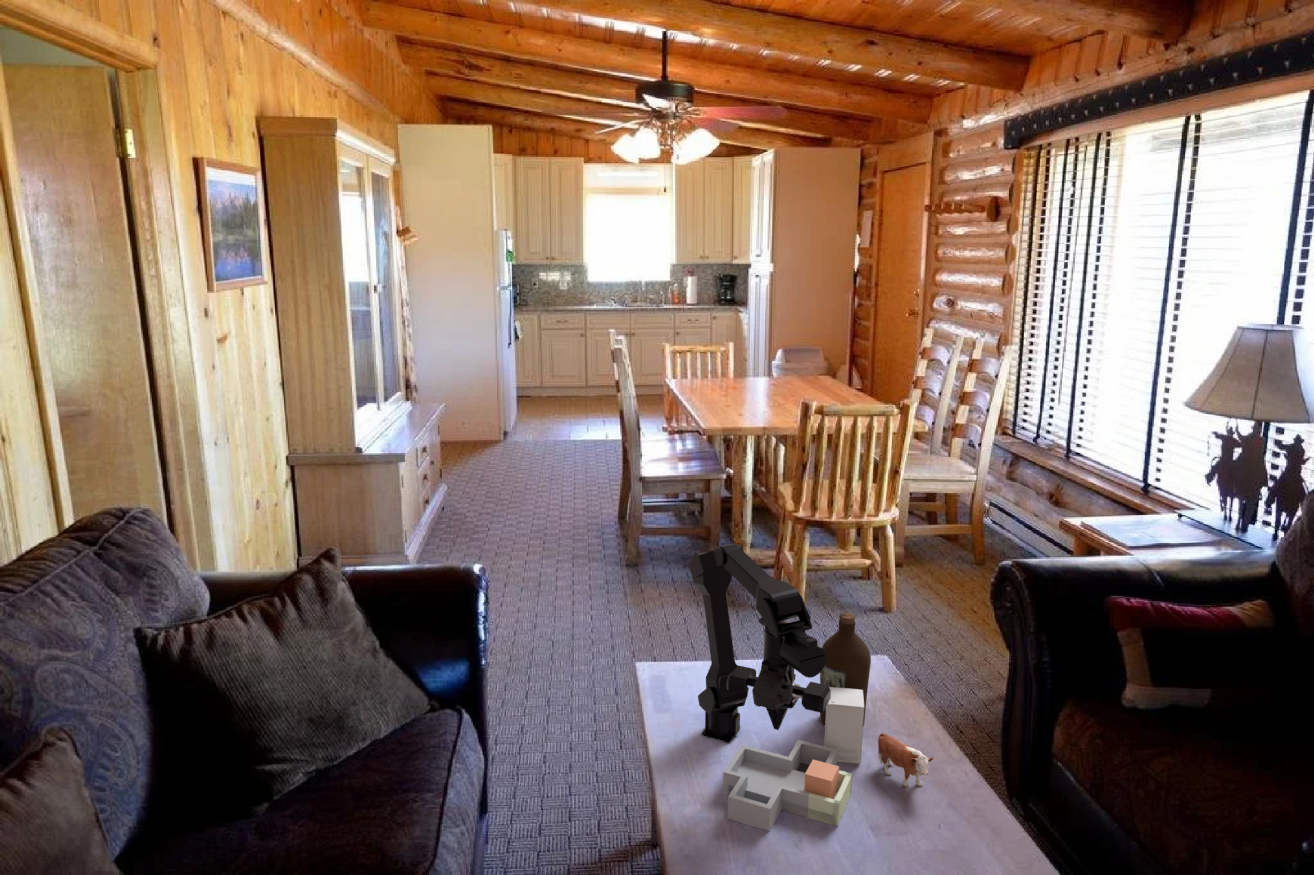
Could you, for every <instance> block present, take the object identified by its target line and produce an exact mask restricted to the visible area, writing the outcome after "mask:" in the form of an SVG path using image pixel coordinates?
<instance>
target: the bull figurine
mask: <svg viewBox="0 0 1314 875" xmlns="http://www.w3.org/2000/svg"><path fill="white" fill-rule="evenodd" d="M877 745H878V746H877V747H878V749H877V750H878V754H877V755H878V759H879V760H878V761H879V762H880V764H883V767H884V768H883V772H885V775H886V776H887V777H889V776H891V775H892V773H891V770H890V769H889V767H893V765H894V766H896V767H899V768H901V769H902V770H903V771H904V778H903V780H902V784H903V787H905V788H909V786H910V785H909V782H908V780H909V778H910V775H911V776H913V777H915V783H916V786H917V787H919V788H921V787H923V783H922V781H921V779H920V776H928V775H929V772H928V765H929V762H932V761H933V760H934V757H933V756H931V757H927V756H926V755H924V754H923V753H922V751H920V750H917V749H916V748H913V747H910V746H908V745H906V744H905V743H903V742H902V741H900V740H899V739H897V738H895V737H893V736H891V735H889V734H886V733H884V732H882V733H880V734H879V736H878V739H877Z"/></svg>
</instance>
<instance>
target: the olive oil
mask: <svg viewBox="0 0 1314 875" xmlns="http://www.w3.org/2000/svg"><path fill="white" fill-rule="evenodd" d="M855 619H856V616H855V613H854V614H853V613H852V612H842V613H840V614H839V619H838V630H837V631H836V632H835V633H834V634H832V635H831V636H830V637H828V638H827V639H826V640H825V642H823V644H822V647H821V648H822V649H823V650H824V652H825V655H826V664H825V666H824V668H823V670H822V671H821V672H820V673H819V684H824V685H828V687H837V688H849V689H859V690H863V697H864V718H863V728H864V727H865V721H866V720H865V719H866V710H867V709H866V707H867V701H868V700H867V699H868V698H867V697H868V689H869V682H870V680H869V679H870V673H871V666H872V665H871V664H872V658H871V653H870V650H869V647H868V645H867V644H866V643H865V642H864V640H863V639H862V638H861V637H860V636H859V635H858V634H857V633H856V632H855V630H856V620H855ZM825 719H826V707H825V709H824V711H823V712H819V720H820V723H821V725H822V726H823V727H824V728H825Z"/></svg>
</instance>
